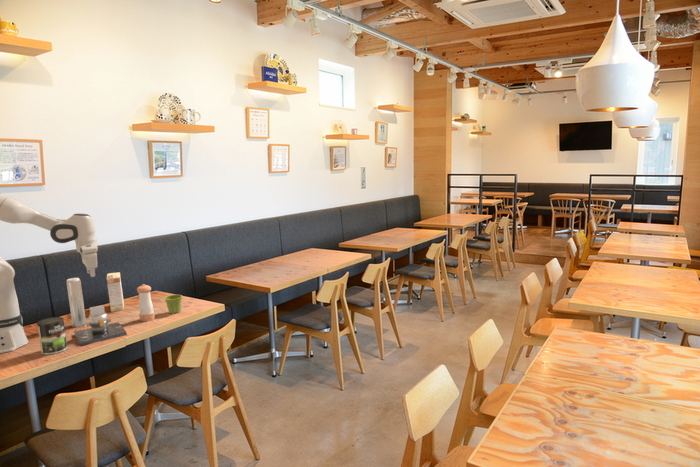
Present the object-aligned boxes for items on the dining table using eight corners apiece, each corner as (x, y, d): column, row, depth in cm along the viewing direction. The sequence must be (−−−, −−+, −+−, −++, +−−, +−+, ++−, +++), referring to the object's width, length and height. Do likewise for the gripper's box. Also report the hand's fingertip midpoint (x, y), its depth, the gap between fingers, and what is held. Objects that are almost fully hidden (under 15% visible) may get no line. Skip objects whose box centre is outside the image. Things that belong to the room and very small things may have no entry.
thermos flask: (82, 327, 247) (75, 280, 243) (69, 327, 247) (63, 280, 243) (89, 322, 253) (83, 276, 249) (77, 323, 253) (70, 277, 249)
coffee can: (72, 347, 218) (68, 318, 216) (49, 356, 209) (44, 325, 207) (59, 344, 223) (55, 315, 221) (36, 352, 214) (31, 322, 212)
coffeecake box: (111, 305, 284) (107, 273, 281) (124, 303, 287) (120, 271, 284) (110, 312, 270) (106, 278, 267) (124, 310, 273) (120, 276, 270)
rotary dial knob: (85, 324, 234) (83, 307, 232) (109, 319, 240) (106, 302, 238) (90, 332, 223) (87, 314, 221) (114, 326, 229) (112, 309, 227)
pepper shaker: (154, 316, 259) (150, 281, 256) (154, 320, 253) (150, 285, 250) (140, 318, 257) (136, 283, 254) (139, 322, 250) (135, 286, 247)
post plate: (80, 345, 221) (78, 335, 220) (74, 334, 236) (73, 324, 235) (126, 334, 232) (125, 324, 231) (118, 324, 247) (117, 315, 247)
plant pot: (178, 314, 260) (176, 299, 258) (162, 314, 261) (160, 299, 260) (186, 309, 269) (185, 294, 267) (171, 309, 270) (170, 294, 269)
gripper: (76, 245, 235) (80, 272, 237) (82, 250, 219) (87, 279, 221) (90, 243, 239) (94, 270, 241) (97, 248, 222) (102, 277, 225)
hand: (91, 274), depth 231 cm, fingers open, 8 cm apart
